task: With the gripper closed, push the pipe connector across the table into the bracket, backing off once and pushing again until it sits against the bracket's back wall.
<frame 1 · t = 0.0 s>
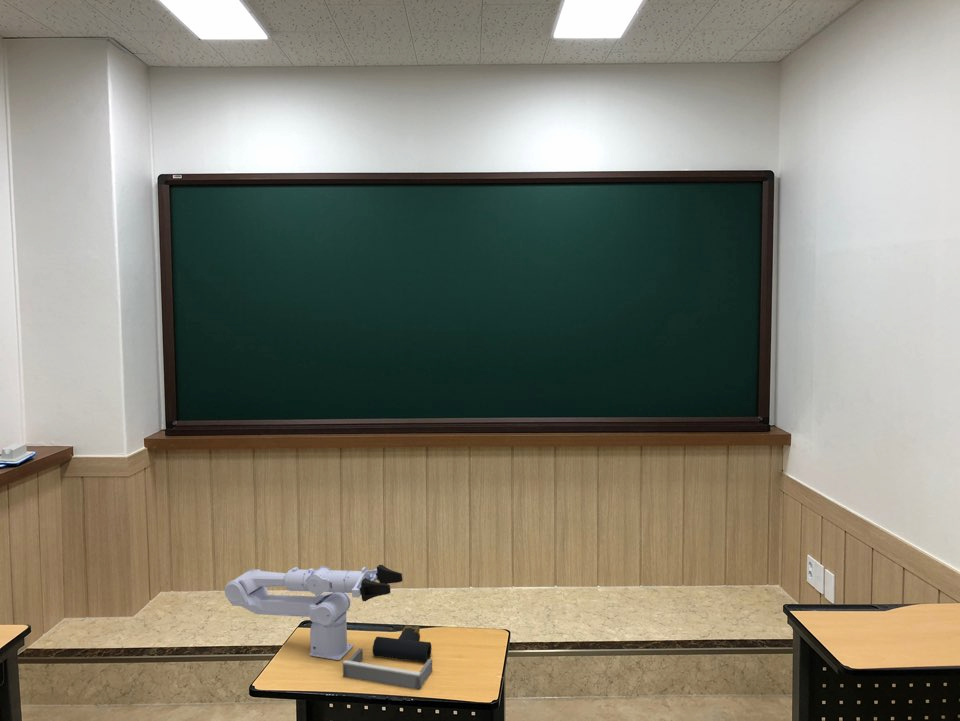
hand: (395, 583, 177), 22 cm above the table, tool horizontal, fingers open, 7 cm apart
pipe connector: (406, 652, 184), on the table
bracket: (388, 673, 173), on the table
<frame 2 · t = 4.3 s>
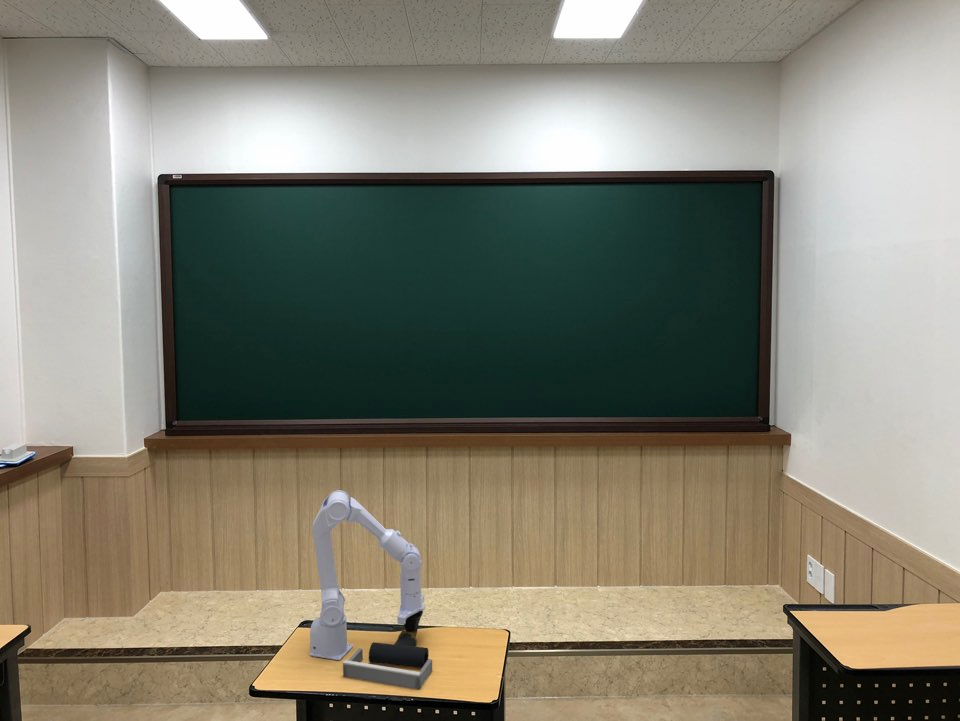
hand: (411, 637, 188), 2 cm above the table, tool pointing down, fingers closed
pipe connector: (402, 658, 181), on the table, touching gripper
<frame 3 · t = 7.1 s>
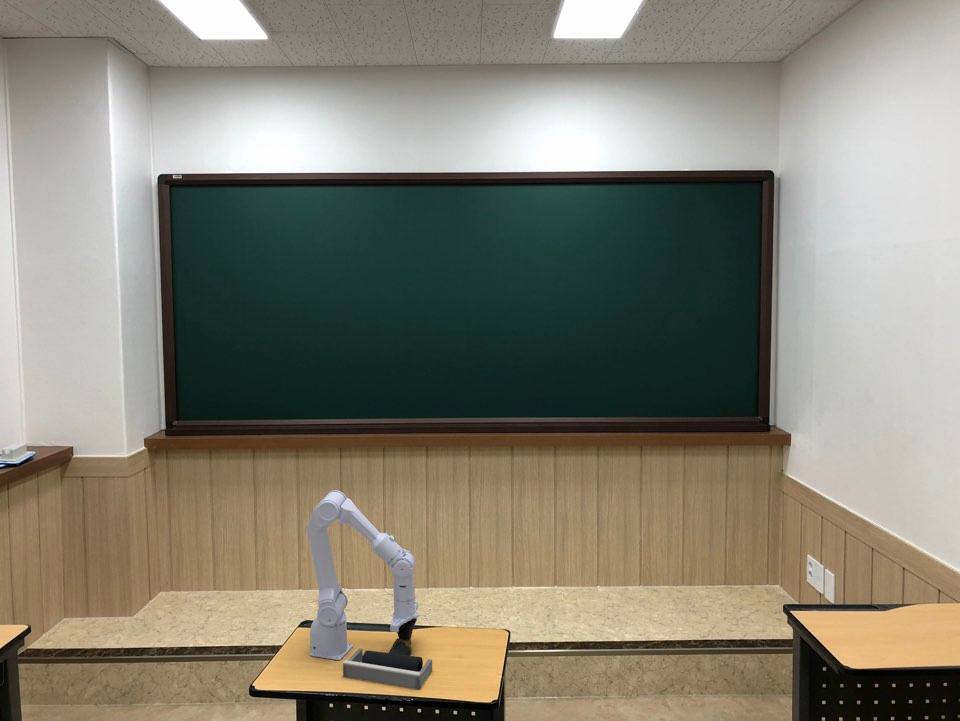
hand: (405, 645, 183), 2 cm above the table, tool pointing down, fingers closed
pipe connector: (396, 667, 177), on the table
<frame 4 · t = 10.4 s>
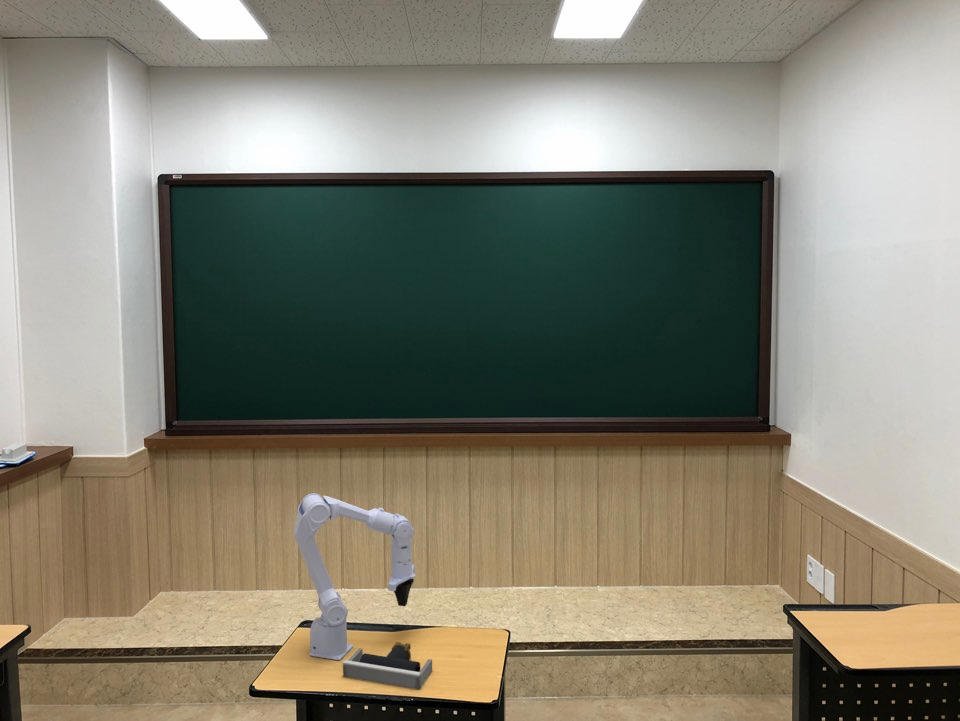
hand: (402, 605, 191), 9 cm above the table, tool pointing down, fingers closed
pipe connector: (395, 671, 175), on the table
at the end: pipe connector inside the target area on the bracket (1.1 cm from its centre), point -0.5 cm above the bracket's base; pipe connector tilted 0° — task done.
